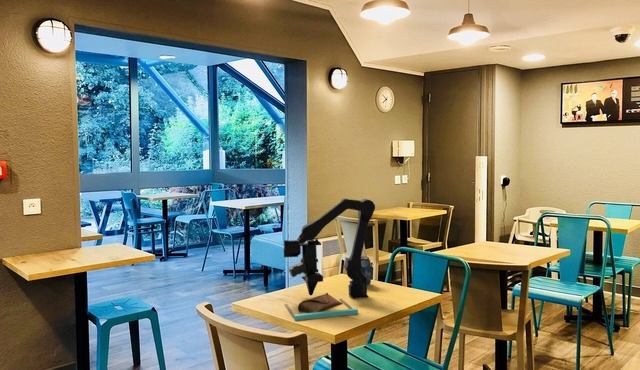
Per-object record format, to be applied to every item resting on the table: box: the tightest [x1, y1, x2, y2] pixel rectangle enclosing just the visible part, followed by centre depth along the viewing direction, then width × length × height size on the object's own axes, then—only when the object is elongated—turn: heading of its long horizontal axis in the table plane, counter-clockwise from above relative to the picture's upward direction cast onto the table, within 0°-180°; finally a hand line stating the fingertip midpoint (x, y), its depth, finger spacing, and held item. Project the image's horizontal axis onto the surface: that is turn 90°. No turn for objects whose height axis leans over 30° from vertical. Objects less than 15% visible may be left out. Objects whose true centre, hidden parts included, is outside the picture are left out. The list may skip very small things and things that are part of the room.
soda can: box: [361, 256, 372, 287], centre depth 234 cm, size 7×7×12 cm
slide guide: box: [284, 298, 359, 321], centre depth 199 cm, size 23×20×2 cm
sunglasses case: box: [297, 292, 343, 314], centre depth 202 cm, size 18×7×7 cm
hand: (310, 295), depth 213 cm, fingers closed
